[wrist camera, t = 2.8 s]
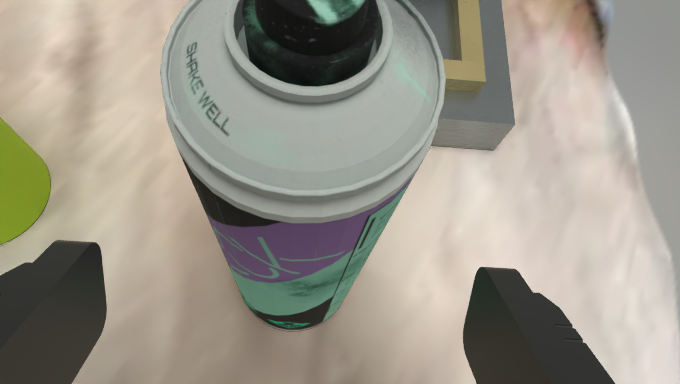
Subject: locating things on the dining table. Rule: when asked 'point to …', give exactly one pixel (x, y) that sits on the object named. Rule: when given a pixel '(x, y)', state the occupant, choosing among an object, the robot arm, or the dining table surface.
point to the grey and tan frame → (471, 72)
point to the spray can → (300, 136)
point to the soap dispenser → (20, 184)
